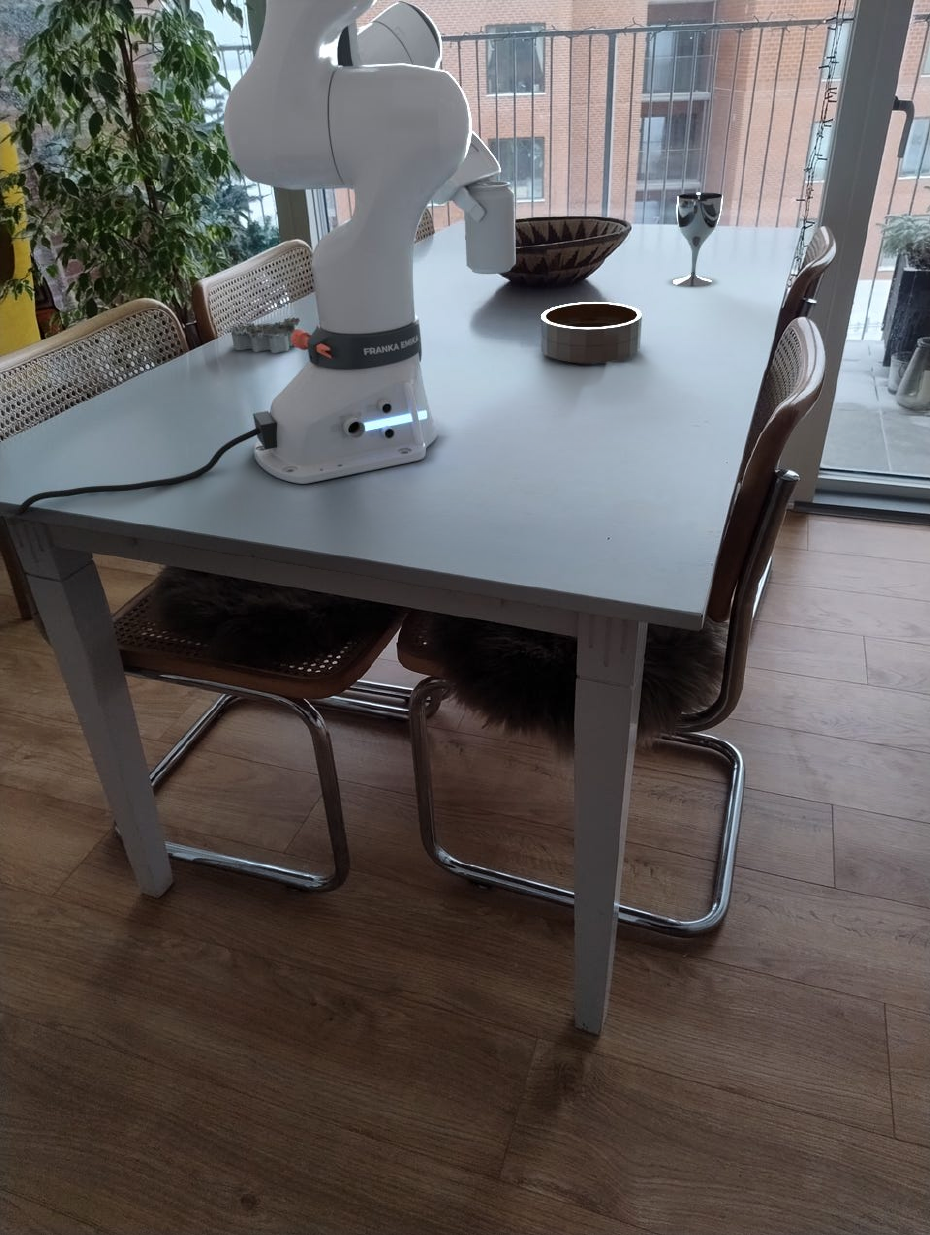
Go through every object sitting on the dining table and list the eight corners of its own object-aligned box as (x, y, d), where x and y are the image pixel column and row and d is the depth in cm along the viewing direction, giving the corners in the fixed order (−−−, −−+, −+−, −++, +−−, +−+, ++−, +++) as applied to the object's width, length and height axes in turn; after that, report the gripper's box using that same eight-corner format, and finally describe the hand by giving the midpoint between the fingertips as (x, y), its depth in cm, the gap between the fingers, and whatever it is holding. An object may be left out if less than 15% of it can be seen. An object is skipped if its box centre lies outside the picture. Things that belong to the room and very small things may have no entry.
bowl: (584, 373, 124) (585, 335, 121) (522, 351, 135) (521, 314, 132) (659, 352, 131) (662, 315, 128) (595, 332, 141) (596, 297, 138)
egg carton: (306, 342, 145) (302, 317, 143) (280, 355, 139) (276, 329, 137) (254, 337, 149) (249, 312, 147) (226, 349, 143) (222, 324, 141)
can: (512, 275, 128) (510, 185, 122) (462, 275, 130) (458, 186, 123) (519, 264, 134) (518, 178, 128) (471, 265, 136) (468, 179, 129)
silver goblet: (719, 279, 167) (728, 193, 159) (705, 288, 162) (714, 200, 153) (680, 275, 171) (687, 192, 163) (664, 285, 166) (671, 198, 157)
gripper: (410, 125, 116) (481, 207, 117) (468, 114, 131) (530, 186, 133) (383, 163, 119) (452, 241, 121) (443, 148, 135) (503, 217, 137)
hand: (493, 212), depth 127 cm, fingers closed on can, 7 cm apart
